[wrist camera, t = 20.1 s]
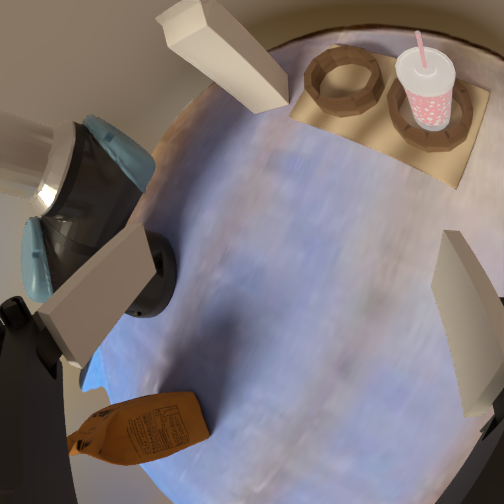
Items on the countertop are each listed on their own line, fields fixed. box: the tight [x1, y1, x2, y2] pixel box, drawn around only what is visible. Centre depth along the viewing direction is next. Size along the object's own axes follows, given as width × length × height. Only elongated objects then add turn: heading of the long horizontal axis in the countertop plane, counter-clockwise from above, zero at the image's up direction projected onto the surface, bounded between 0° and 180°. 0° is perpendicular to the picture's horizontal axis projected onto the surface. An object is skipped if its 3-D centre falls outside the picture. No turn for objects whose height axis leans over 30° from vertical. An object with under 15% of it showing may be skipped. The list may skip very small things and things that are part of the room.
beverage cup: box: [395, 31, 456, 131], centre depth 23 cm, size 6×6×14 cm
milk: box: [155, 0, 289, 114], centre depth 34 cm, size 6×6×22 cm
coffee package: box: [67, 391, 209, 466], centre depth 36 cm, size 10×12×22 cm
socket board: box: [289, 44, 490, 189], centre depth 32 cm, size 24×14×4 cm, turn 57°
